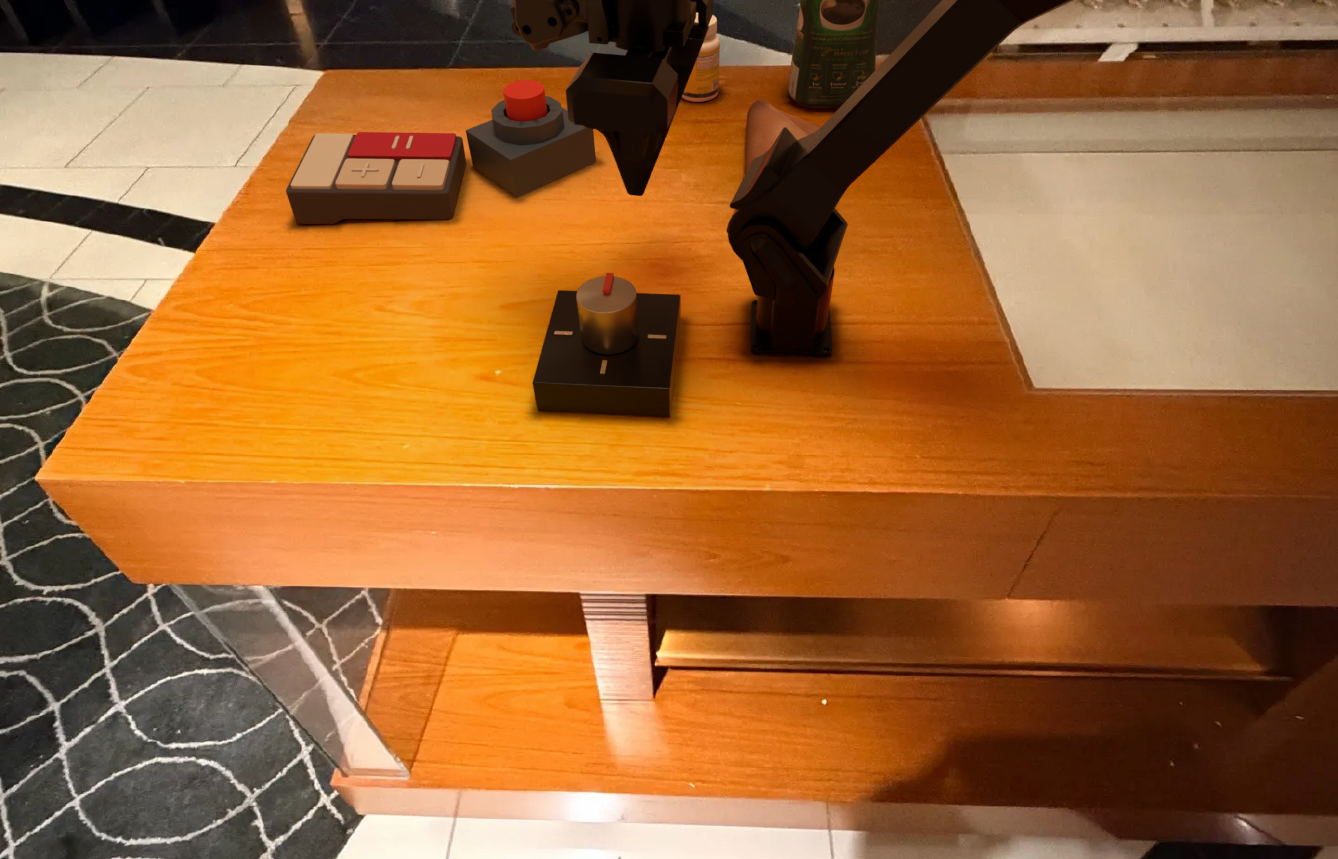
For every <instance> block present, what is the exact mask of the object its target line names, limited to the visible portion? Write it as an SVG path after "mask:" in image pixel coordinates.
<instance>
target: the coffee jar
mask: <svg viewBox="0 0 1338 859" xmlns="http://www.w3.org/2000/svg"><path fill="white" fill-rule="evenodd" d="M880 1H881V0H800V3H799V13H798V19H797V26H796V32H795V37H794V42H793V49H792V54H791V61H790V67H789V75H788V84H787V85H788V88H787V91H788V94H789V97H790V99H791V100H792V101H793V102H794V103H796V104H798V105H799V106H801V107H804V108H813V109H839V108H840V107H841V106H842V105H843V104H844V103H845V102H846V101H847V100H848V99H849V97H850V96H851V95H852V94H853V93H854V92H855V91H856V90H857V89H858V88H859V87H860V86H861V85H862V84H863V83H864V82H865V81H866V80H867V79H868V77H869V76H870V75H871V74H872V73H873V72H874V71H875V70H876V62H877V61H876V60H877V36H878V20H879V9H880Z"/></svg>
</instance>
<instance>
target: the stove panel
mask: <svg viewBox="0 0 1338 859" xmlns="http://www.w3.org/2000/svg"><path fill="white" fill-rule="evenodd" d="M577 291H578V290H566V289H565V290H564V289H563V290H562V289H559V290H557V293H556V296H555V300H554V303H553V307H552V310H551V314H550V318H549V322H548V324H547V329H546V333H545V336H544V339H543V343H542V346H541V347H542V348H541V350H540V354H539V358H538V361H537V365H536V369H535V373H534V375H533V379H532V389H533V394H534V398H535V404H536V411H537V412H541V413H542V412H543V413H563V414H565V413H566V414H582V415H583V414H584V415H585V414H586V415H607V416H627V417H650V418H671V413H672V406H673V394H674V387H675V377H676V370H677V361H678V352H679V342H680V335H681V325H682V313H681V312H682V310H681V309H682V308H681V307H682V306H681V305H682V304H681V302H682V301H681V299H682V298H681V294H680V293H679V294H678V293H677V294H674V293H651V292H649V293H648V292H646V293H645V292H636V293H637V310H638V327H639V337H638V340H637V342H636V343H635V344H634V346H632V347H631V348H630V349H628V350H626V351H624V352H622V353H618V354H611V355H605V354H599V353H595V352H593V351H591V350H589V349H588V348H587V347H586V346H585V345H584V344H583V342H582V339H581V331H580V323H579V315H578V307H577V298H576V295H577Z"/></svg>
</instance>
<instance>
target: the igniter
mask: <svg viewBox="0 0 1338 859" xmlns="http://www.w3.org/2000/svg"><path fill="white" fill-rule="evenodd" d="M545 97H546V104H547V115H546V116H545V117H542V118H540V119H537V120H534V121H525V122H520V121H514V120H510V119H508V117H507V113H506V107H505V101H504V99H503V100H501V101H499V102H497V104H496V105H494V107H493V108H491V110H490V113H491V120H488V121H485V122H483V123H480V124H477V125H475V126H473V127H470V128H467V129H466V130H465V135H466V139H467V140H466V141H467V145H468V149H469V153H470V154H469V155H470V159H471V165H472V168H473V169H474V170H476V171H477V172H479V173H480V174H481V175H483V176H484V177H485V178H487V179H488V180H490V181H492V182H493V183H494V184H496V185H497V186H499V187H500V188H502V189H503V190H504V191H506V192H507V193H509V194H510V195H512V196H513V197H514V198H515V199H518V198H520V197H523V196H524V195H527V194H529V193H531V192H533V191H536V190H538V189H540V188H542V187H545V186H547V185H549V184H551V183H552V184H553V183H554V182H556V181H558V180H561V179H563V178H565V177H567V176H569V175H572V174H574V173H576V172H579V171H580V170H582V169H583V170H584V169H585V168H587V167H590V166H592V165H594V164H596V163H597V157H596V156H597V155H596V146H595V145H596V144H595V135H594V134H595V133H594V129H589V128H585V127H583V126H582V125H574V124H573V123H572V122H571V121H570V120H568V111H567V108H564V107H562V104H561V102H560V101H558V100H557V99H555V98H553V97H551V96H549V95H545Z"/></svg>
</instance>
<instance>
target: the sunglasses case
mask: <svg viewBox="0 0 1338 859" xmlns="http://www.w3.org/2000/svg"><path fill="white" fill-rule="evenodd" d="M784 127H786V128H787V129H788V130H789V131H790V132H791V133H792V135H793V136H794V137H795V138H796V139H797V140H799V139H801V138H803V137H806V136H808V135H810V134H812V133H814V132H816V131H817V130H818V129H820V128H821V127H822V126H820V125H817V124H815V123H812V122H810V121H807V120H804V119H802V118H800V117H798V116H795V115H792V114H790V113H788V112H786V111H782V110H781V109H777V108H776V107H775V106H773V105H772V104H770V103H769V102H768V101H765V99H762V98H760V99H757V100H755V101H754V102H753V103H752V104H751V105H750V107H749V109H748V110H747V113H746V124H745V149H744V150H745V154H744V175H745V174H746V172H747V170H748V168H749V166H750V164H751V162H752V160H753V159H754V158H757V157H759V156H761V155H763V154H764V153H765V152H767V151H768V150H769V149H770V148H771V146H772V145H773V144H774V142H775V140H776V139H777V137H778V136H779V134H780V132H781V131H782V129H783V128H784Z"/></svg>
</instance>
